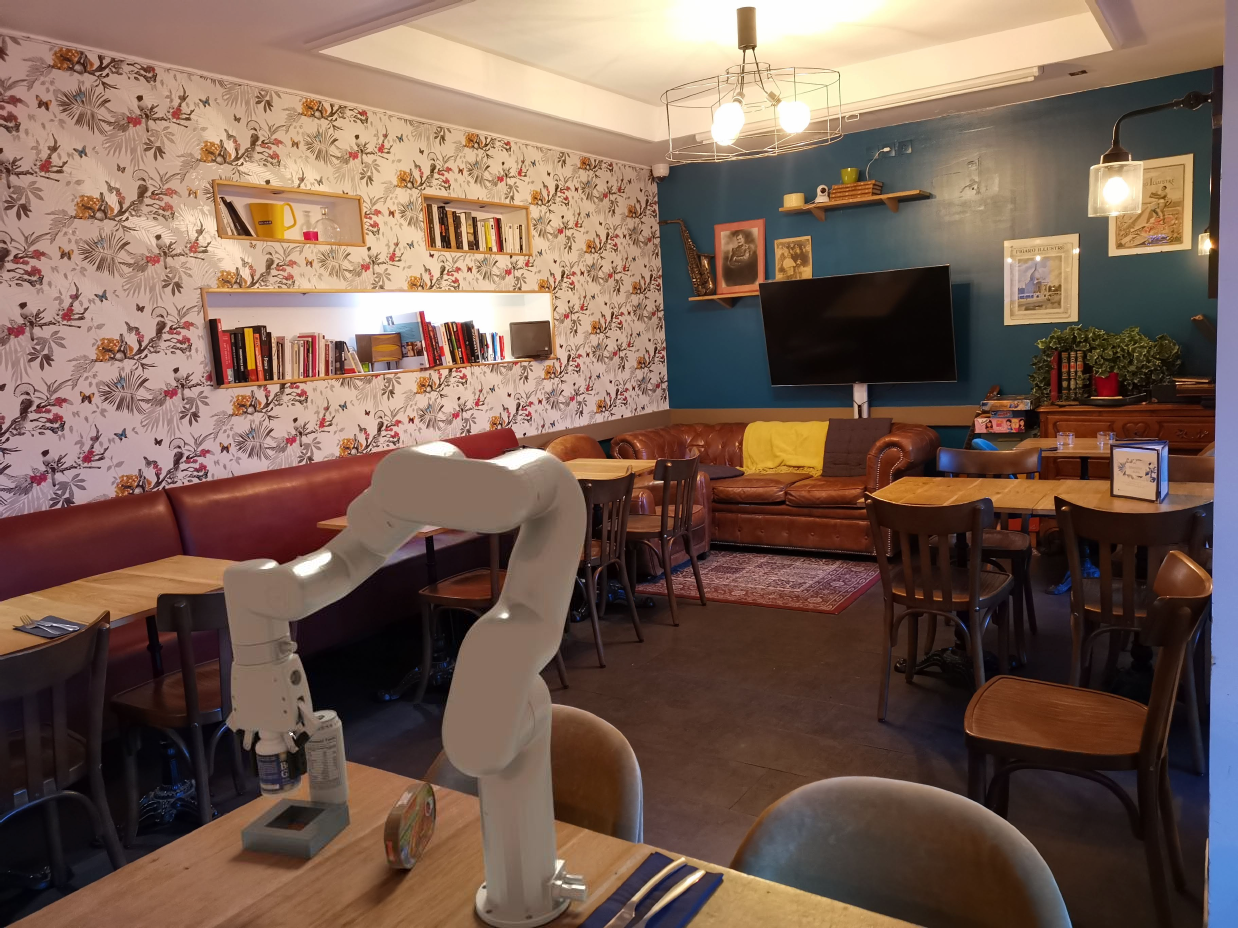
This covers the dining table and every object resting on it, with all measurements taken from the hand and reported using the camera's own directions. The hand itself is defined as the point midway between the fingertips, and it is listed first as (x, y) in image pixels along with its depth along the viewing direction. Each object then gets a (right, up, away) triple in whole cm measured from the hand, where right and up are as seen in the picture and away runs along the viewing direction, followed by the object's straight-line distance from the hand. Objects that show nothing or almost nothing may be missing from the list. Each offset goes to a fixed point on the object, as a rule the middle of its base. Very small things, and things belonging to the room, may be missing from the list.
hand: (280, 772), depth 125 cm
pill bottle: (0, -3, 0) cm, 3 cm away
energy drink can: (0, -13, +22) cm, 25 cm away
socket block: (-2, -14, +12) cm, 19 cm away
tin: (+17, -14, +6) cm, 23 cm away
